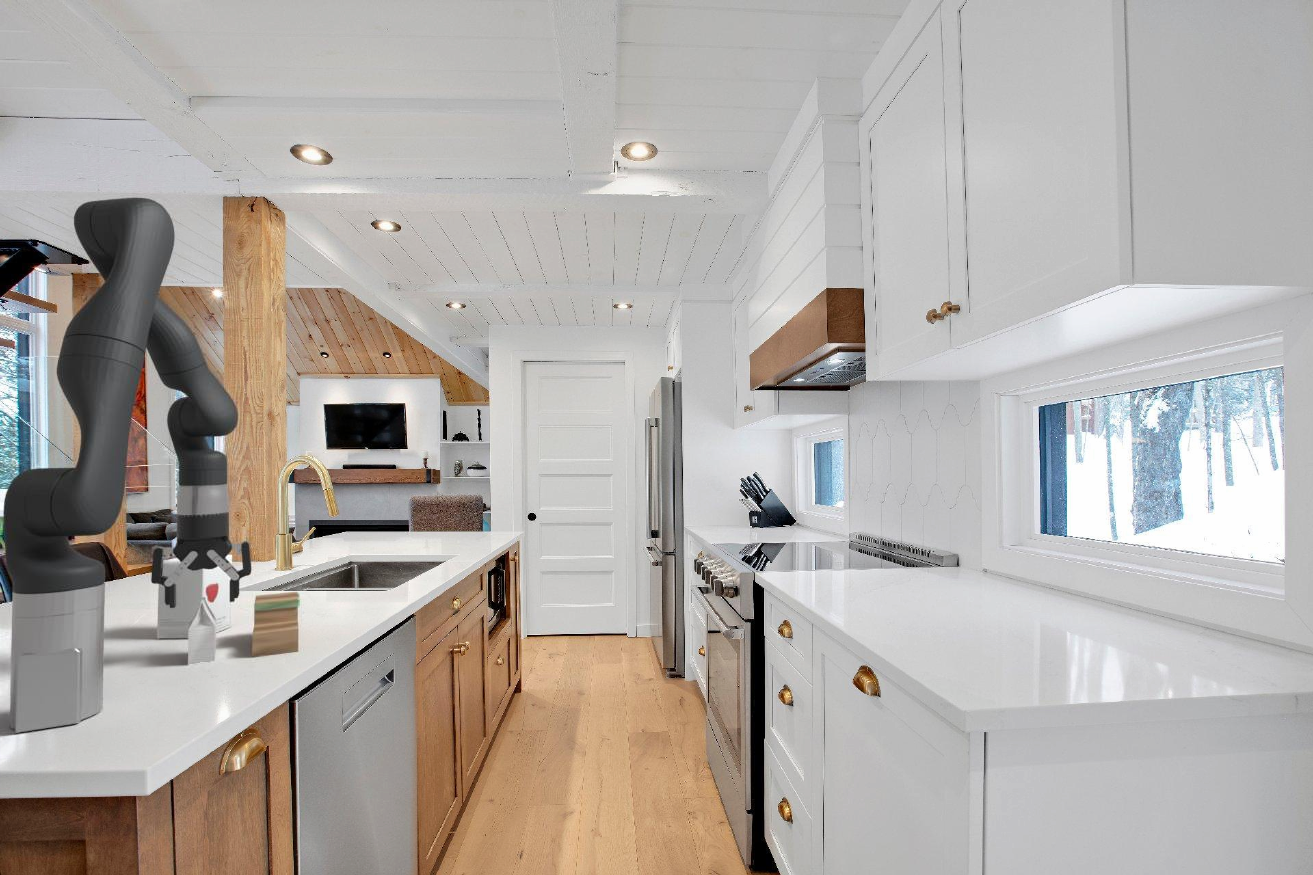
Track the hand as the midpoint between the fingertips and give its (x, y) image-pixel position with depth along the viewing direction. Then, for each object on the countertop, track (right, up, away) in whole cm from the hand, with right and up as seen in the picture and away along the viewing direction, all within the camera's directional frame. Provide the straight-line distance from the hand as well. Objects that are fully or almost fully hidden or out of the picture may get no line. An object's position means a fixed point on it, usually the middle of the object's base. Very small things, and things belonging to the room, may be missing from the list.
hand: (203, 604), depth 115 cm
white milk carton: (0, -9, -1) cm, 9 cm away
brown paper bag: (+8, -9, +7) cm, 15 cm away
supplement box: (-13, -10, +16) cm, 23 cm away
